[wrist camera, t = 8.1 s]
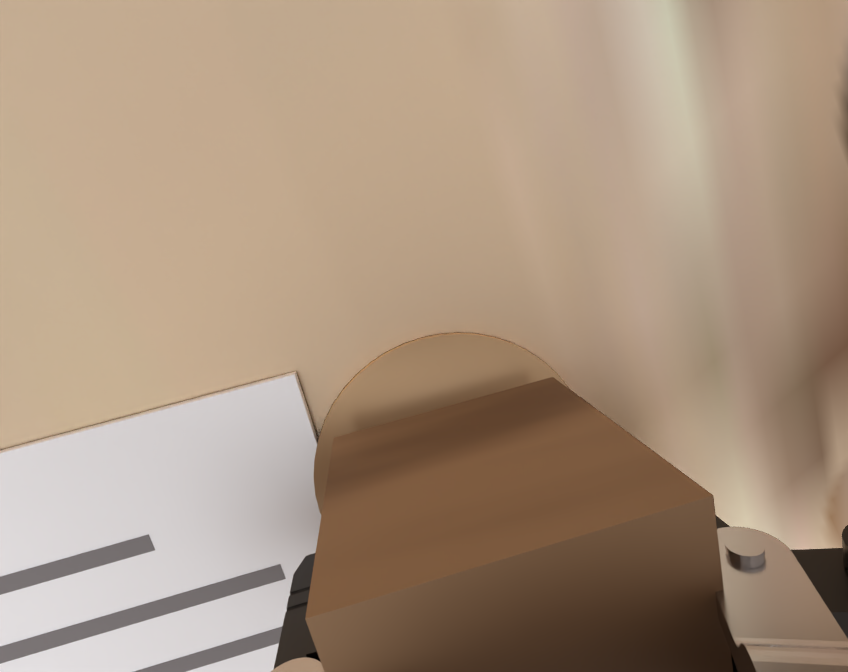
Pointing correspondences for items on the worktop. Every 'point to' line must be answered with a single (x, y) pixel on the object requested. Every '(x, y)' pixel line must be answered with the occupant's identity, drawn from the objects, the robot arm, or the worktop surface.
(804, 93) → the worktop surface
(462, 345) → the coaster
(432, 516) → the walnut block
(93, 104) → the worktop surface
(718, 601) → the robot arm
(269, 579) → the letter
